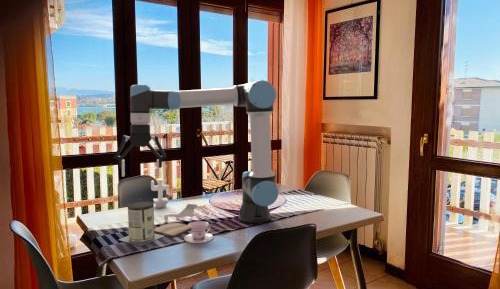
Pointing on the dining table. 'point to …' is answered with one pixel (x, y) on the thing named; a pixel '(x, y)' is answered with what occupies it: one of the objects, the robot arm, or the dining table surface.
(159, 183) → the figurine
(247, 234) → the dining table surface
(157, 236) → the tile
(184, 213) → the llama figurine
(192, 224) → the teacup
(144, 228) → the coffee can
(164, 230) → the walnut board
